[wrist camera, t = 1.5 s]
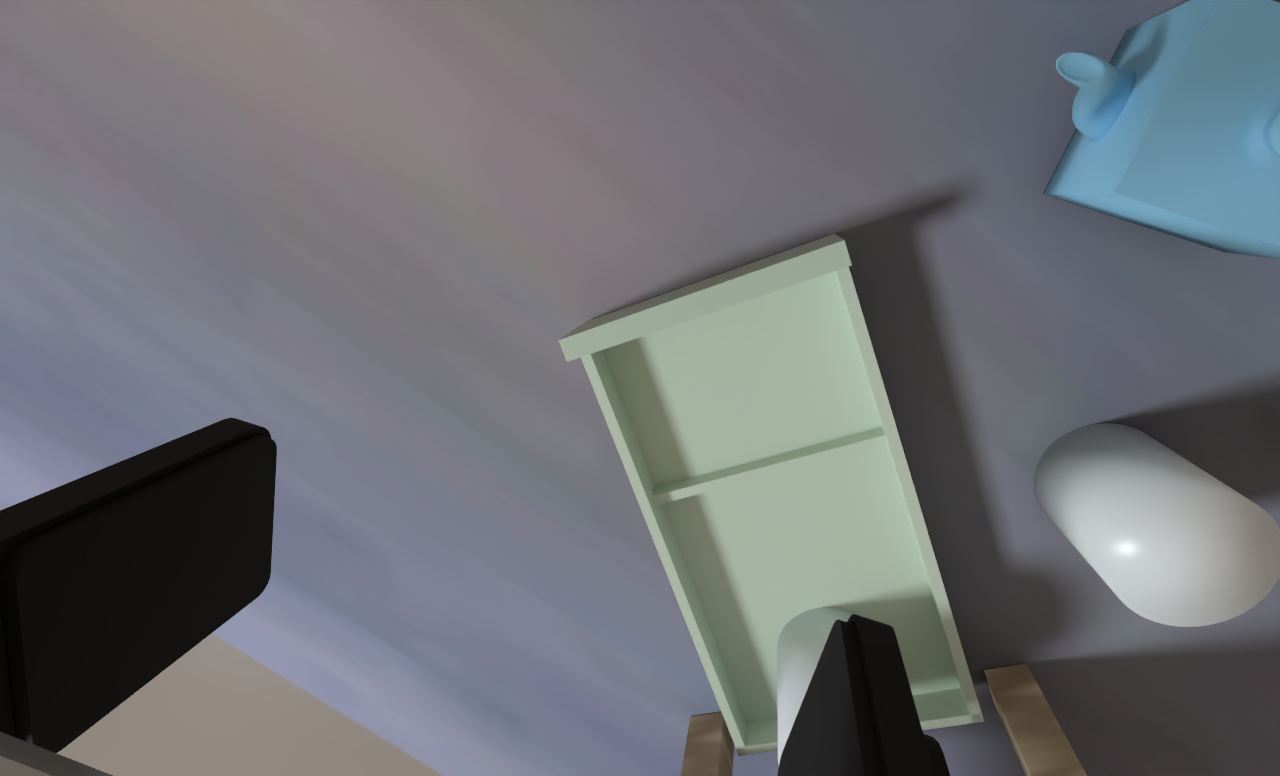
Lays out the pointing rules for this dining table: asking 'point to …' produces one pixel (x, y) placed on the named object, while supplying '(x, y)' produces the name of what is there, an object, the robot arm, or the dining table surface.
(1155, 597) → the white piece
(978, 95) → the dining table surface
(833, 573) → the tray
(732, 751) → the miniature wooden table
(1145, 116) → the teapot
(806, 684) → the white rounded cylinder
